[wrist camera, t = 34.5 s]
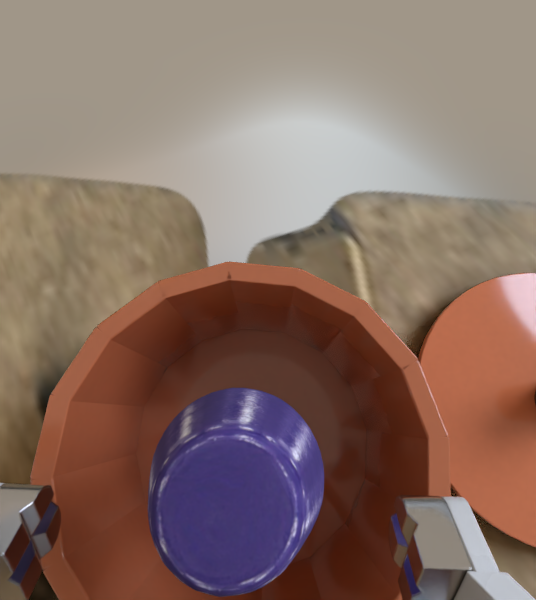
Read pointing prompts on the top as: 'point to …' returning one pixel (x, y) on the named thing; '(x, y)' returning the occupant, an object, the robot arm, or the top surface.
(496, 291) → the crock lid
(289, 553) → the toy lamp
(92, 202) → the top surface
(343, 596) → the crock
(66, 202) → the top surface
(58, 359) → the top surface
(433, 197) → the top surface
